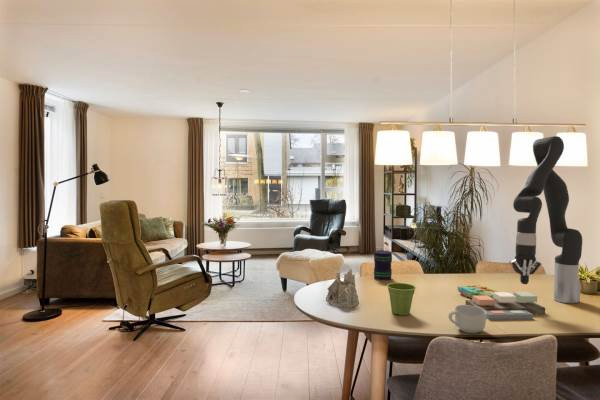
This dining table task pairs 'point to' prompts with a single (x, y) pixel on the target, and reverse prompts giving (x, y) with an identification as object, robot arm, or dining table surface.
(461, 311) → the teacup
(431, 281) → the dining table surface
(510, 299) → the key cream
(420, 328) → the dining table surface
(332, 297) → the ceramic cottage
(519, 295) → the key sage
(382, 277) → the storage jar
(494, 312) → the card
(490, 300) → the key terracotta
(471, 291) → the puzzle game
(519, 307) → the keypad base
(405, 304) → the plant pot
